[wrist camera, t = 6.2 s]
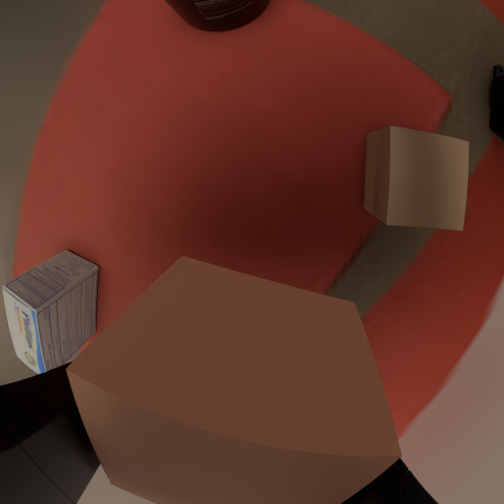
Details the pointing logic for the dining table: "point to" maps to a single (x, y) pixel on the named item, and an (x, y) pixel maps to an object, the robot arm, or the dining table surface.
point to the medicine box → (52, 310)
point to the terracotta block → (235, 393)
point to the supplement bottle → (217, 12)
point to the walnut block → (416, 178)
